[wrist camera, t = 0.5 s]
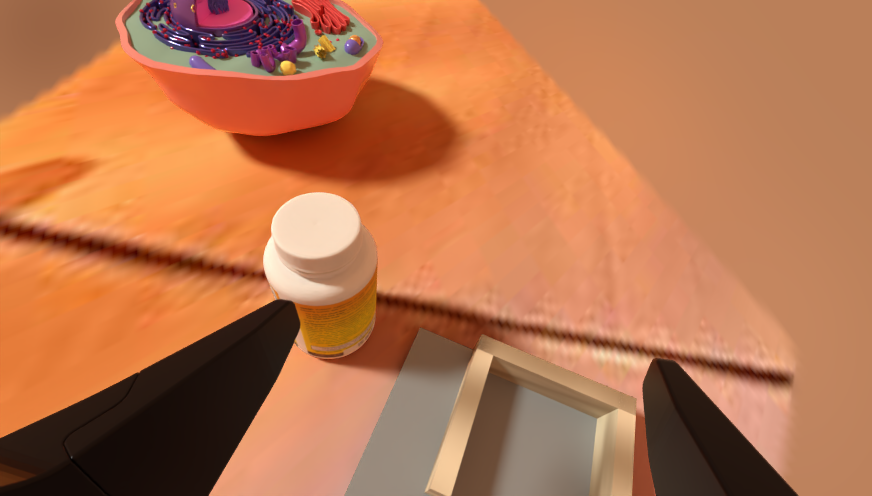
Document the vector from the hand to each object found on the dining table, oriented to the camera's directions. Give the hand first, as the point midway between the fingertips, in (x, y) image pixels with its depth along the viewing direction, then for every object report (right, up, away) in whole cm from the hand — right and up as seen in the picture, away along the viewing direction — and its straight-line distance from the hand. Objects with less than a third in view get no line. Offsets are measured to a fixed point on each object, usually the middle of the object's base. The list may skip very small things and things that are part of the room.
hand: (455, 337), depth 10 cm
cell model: (-16, +15, +28) cm, 36 cm away
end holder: (+5, -10, +13) cm, 17 cm away
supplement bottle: (-7, -3, +16) cm, 18 cm away
